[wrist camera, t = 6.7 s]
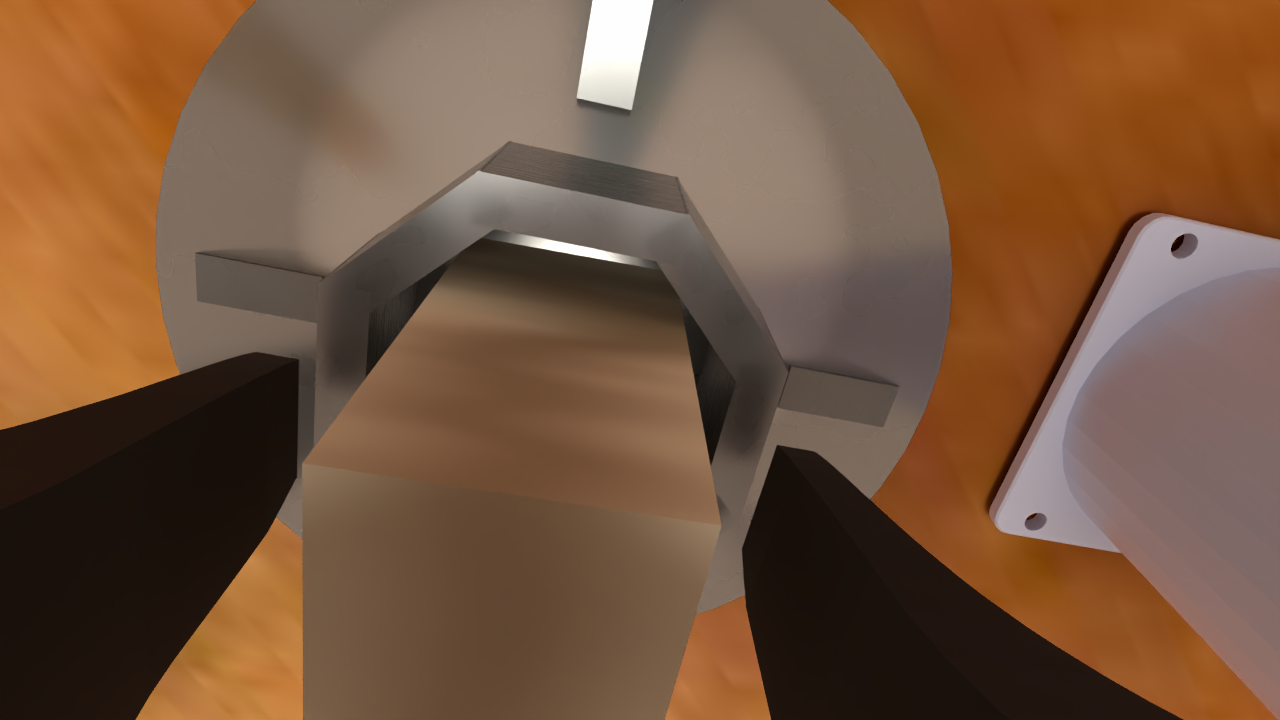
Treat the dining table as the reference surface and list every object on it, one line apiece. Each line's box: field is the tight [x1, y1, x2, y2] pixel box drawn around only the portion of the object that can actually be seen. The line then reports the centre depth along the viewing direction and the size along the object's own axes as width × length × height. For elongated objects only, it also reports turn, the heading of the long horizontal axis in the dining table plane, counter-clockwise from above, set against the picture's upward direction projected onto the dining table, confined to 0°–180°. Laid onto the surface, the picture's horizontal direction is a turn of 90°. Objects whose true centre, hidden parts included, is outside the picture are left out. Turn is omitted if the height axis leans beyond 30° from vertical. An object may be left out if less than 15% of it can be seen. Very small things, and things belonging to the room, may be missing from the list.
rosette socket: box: [156, 0, 952, 614], centre depth 14 cm, size 16×16×4 cm
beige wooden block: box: [302, 238, 722, 720], centre depth 11 cm, size 4×4×8 cm
